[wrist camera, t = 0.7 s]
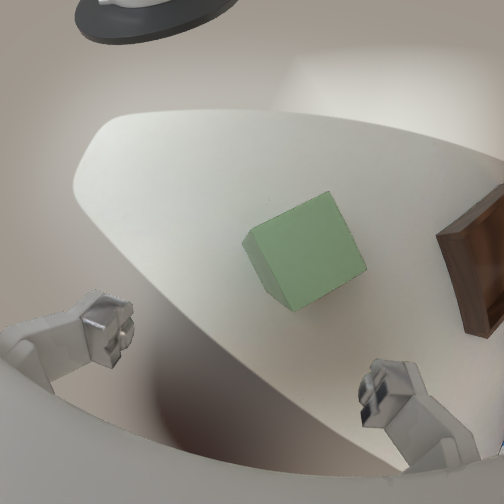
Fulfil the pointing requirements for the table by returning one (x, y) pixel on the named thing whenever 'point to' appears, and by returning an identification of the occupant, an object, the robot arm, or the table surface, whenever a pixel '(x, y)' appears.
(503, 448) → the ink box
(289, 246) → the block
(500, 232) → the chest
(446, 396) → the table surface
